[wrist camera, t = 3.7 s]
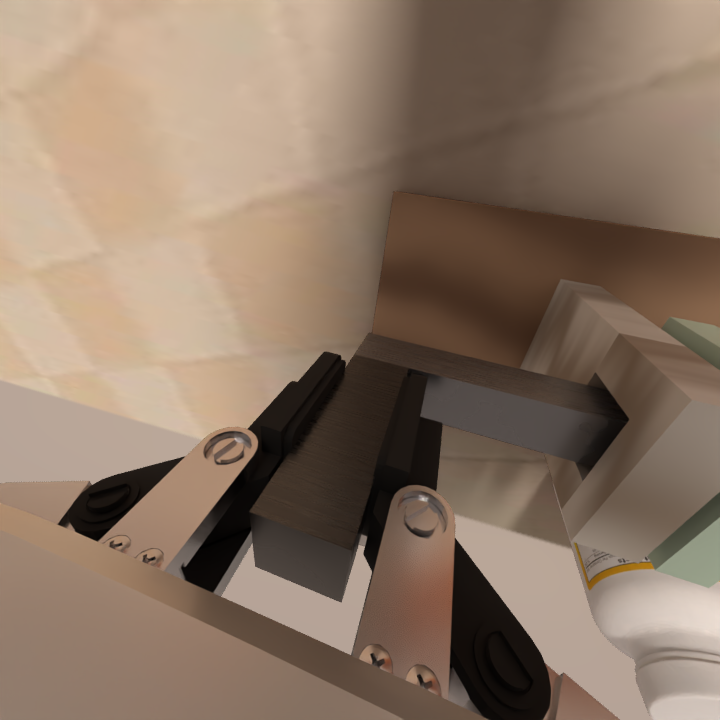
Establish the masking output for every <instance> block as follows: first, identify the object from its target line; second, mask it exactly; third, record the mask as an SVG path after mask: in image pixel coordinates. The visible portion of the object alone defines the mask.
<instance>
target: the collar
mask: <svg viewBox="0 0 720 720" xmlns="http://www.w3.org/2000/svg"><path fill="white" fill-rule="evenodd" d="M661 329H662V330H663V331H665V332H666V333H668V334H669V335H670V336H672V337H673V338H675V339H676V340H677V341H679V342H680V343H682V344H683V345H685V346H686V347H687V348H689V349H690V350H692V351H693V352H694V353H696V354H697V355H699V356H700V357H702V358H703V359H704V360H706V361H707V362H709V363H710V364H711V365H713V366H714V367H716V368H717V369H719V370H720V328H718V327H717V326H715V325H711V324H705V323H700V322H695V321H690V320H685V319H679V318H674V317H669V318H668V320H667V321H666V323H665V324H664V326H663V327H662V328H661ZM648 557H649V559H650V561H651V563H652V565H653V567H654V569H655V571H658V572H661V573H664V574H667V575H670V576H673V577H676V578H680V579H683V580H686V581H689V582H692V583H695V584H698V585H701V586H704V587H707V588H710V587H711V586H713V585H714V584H716V583H717V582H719V581H720V492H719V493H718V494H717V495H716V496H714V497H713V498H712V499H711V500H710V501H709V502H708V503H706V504H705V505H704V506H703V507H702V508H701V509H700V510H699V511H697V512H696V513H695V514H694V515H693V516H692V517H691V518H689V519H688V520H687V521H686V522H685V523H684V524H683V525H681V526H680V527H679V528H678V529H677V530H676V531H675V532H673V533H672V534H671V535H670V536H669V537H668V538H667V539H666V540H664V541H663V542H662V543H661V544H660V545H659V546H658V547H656V548H655V549H654V550H653V551H652V552H651V553H650V554H648Z"/></svg>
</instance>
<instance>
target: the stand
mask: <svg viewBox="0 0 720 720" xmlns="http://www.w3.org/2000/svg"><path fill="white" fill-rule="evenodd" d="M669 317H674V318H679V319H685V320H690V321H695V322H700V323H705V324H711V325H715V326H717V327H718V328H720V239H719V238H712V237H705V236H698V235H692V234H685V233H678V232H671V231H664V230H657V229H650V228H644V227H637V226H630V225H623V224H616V223H609V222H602V221H596V220H589V219H582V218H575V217H568V216H561V215H554V214H548V213H541V212H534V211H527V210H520V209H513V208H506V207H499V206H493V205H486V204H479V203H472V202H465V201H458V200H451V199H445V198H438V197H431V196H424V195H417V194H410V193H403V192H394V193H393V199H392V206H391V212H390V219H389V225H388V232H387V238H386V245H385V251H384V258H383V264H382V271H381V277H380V284H379V290H378V297H377V303H376V310H375V316H374V323H373V329H372V334H376V335H381V336H385V337H389V338H393V339H397V340H401V341H406V342H410V343H414V344H418V345H422V346H427V347H431V348H435V349H439V350H443V351H448V352H452V353H456V354H460V355H464V356H468V357H473V358H477V359H481V360H485V361H489V362H494V363H498V364H502V365H506V366H510V367H515V368H519V369H523V370H527V371H531V372H535V373H540V374H544V375H548V376H552V377H556V378H561V379H565V380H569V381H573V382H577V383H582V384H586V385H590V386H594V387H598V388H602V389H607V390H609V391H610V393H611V394H612V396H613V397H614V398H615V400H616V401H617V403H618V404H619V405H620V407H621V408H622V409H623V411H624V412H625V414H626V415H627V416H628V418H629V419H630V420H629V421H628V422H627V424H626V425H625V426H624V428H623V429H622V430H621V431H620V433H619V434H618V435H617V437H616V438H615V439H614V441H613V442H612V443H611V445H610V446H609V447H608V449H607V450H606V451H605V453H604V454H603V455H602V457H601V458H600V459H599V461H598V462H597V463H596V465H595V466H594V467H591V466H588V465H584V464H581V463H577V462H574V461H570V460H567V459H563V458H560V457H556V456H553V455H549V454H546V453H544V454H545V458H546V461H547V464H548V467H549V471H550V474H551V477H552V481H553V484H554V487H555V490H556V494H557V497H558V500H559V504H560V507H561V510H562V513H563V517H564V520H565V523H566V527H567V530H568V533H569V537H570V540H571V541H572V542H575V543H578V544H581V545H584V546H587V547H590V548H593V549H596V550H599V551H602V552H605V553H608V554H611V555H614V556H617V557H620V558H623V559H626V560H629V561H632V562H635V563H639V562H640V561H642V560H643V559H644V558H645V557H646V556H647V555H648V554H650V553H651V552H652V551H653V550H654V549H655V548H656V547H658V546H659V545H660V544H661V543H662V542H663V541H664V540H666V539H667V538H668V537H669V536H670V535H671V534H672V533H673V532H675V531H676V530H677V529H678V528H679V527H680V526H681V525H683V524H684V523H685V522H686V521H687V520H688V519H689V518H691V517H692V516H693V515H694V514H695V513H696V512H697V511H699V510H700V509H701V508H702V507H703V506H704V505H705V504H706V503H708V502H709V501H710V500H711V499H712V498H713V497H714V496H716V495H717V494H718V493H719V492H720V370H719V369H717V368H716V367H714V366H713V365H711V364H710V363H709V362H707V361H706V360H704V359H703V358H702V357H700V356H699V355H697V354H696V353H694V352H693V351H692V350H690V349H689V348H687V347H686V346H685V345H683V344H682V343H680V342H679V341H677V340H676V339H675V338H673V337H672V336H670V335H669V334H668V333H666V332H665V331H663V330H662V329H661V328H662V327H663V326H664V324H665V323H666V321H667V320H668V318H669Z"/></svg>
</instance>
